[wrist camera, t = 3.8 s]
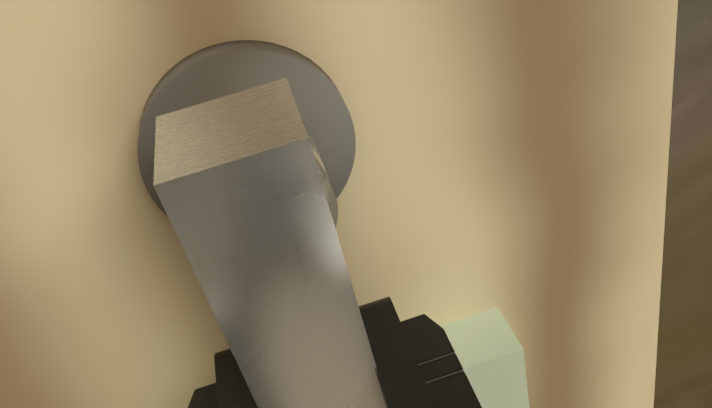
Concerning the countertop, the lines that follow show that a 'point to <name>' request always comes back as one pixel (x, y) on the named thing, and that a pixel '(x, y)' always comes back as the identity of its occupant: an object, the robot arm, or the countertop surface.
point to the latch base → (341, 180)
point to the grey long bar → (267, 247)
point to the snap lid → (490, 359)
